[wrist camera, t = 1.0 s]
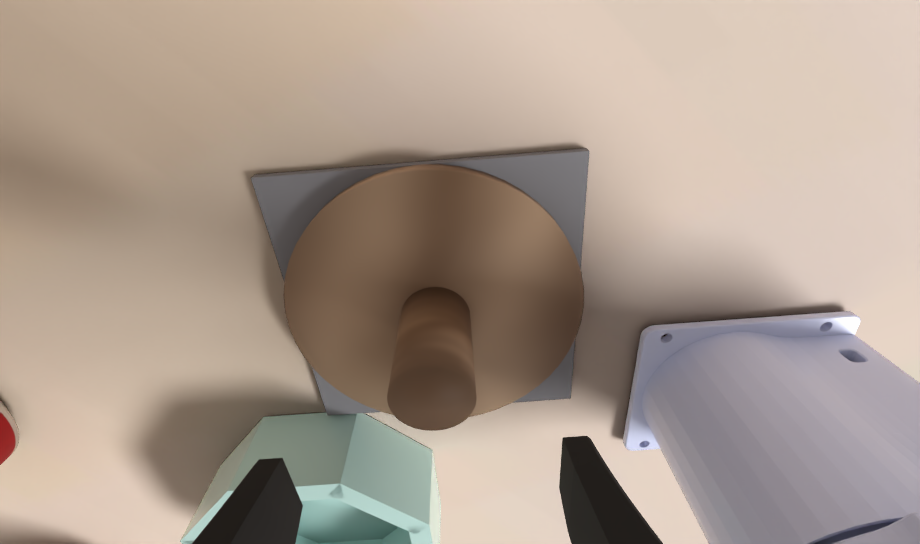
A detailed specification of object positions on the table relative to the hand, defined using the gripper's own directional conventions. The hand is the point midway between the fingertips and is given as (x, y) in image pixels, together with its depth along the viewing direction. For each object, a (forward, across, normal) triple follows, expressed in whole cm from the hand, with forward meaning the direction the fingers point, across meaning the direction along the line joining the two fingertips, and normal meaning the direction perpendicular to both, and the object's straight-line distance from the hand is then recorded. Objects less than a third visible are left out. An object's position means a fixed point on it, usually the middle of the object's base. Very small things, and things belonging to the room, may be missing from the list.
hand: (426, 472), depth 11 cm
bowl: (+8, +7, +12) cm, 16 cm away
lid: (+8, 0, 0) cm, 8 cm away
